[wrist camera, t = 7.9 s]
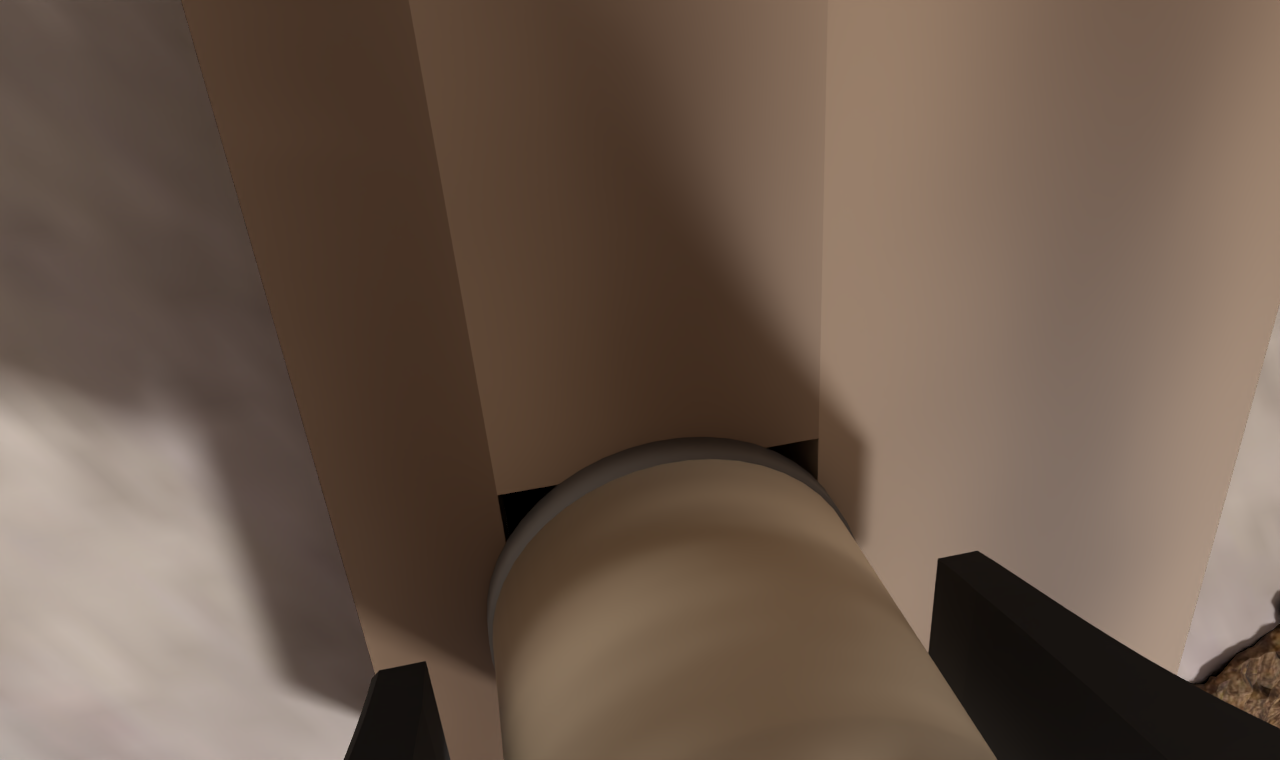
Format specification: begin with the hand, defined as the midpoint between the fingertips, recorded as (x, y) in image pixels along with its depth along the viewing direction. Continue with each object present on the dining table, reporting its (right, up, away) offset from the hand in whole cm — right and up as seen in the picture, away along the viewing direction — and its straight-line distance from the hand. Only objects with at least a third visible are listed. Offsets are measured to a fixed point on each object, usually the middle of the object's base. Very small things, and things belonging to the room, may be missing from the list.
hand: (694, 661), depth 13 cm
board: (+1, +6, +3) cm, 6 cm away
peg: (-1, +2, +3) cm, 4 cm away
